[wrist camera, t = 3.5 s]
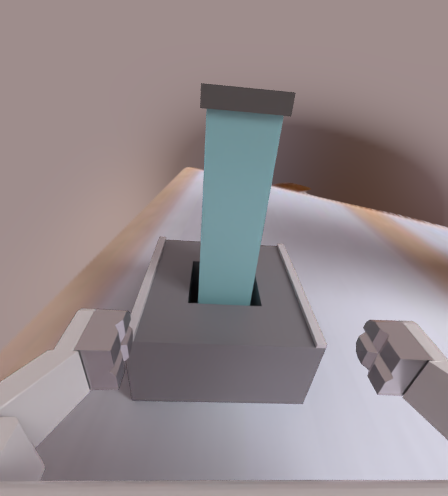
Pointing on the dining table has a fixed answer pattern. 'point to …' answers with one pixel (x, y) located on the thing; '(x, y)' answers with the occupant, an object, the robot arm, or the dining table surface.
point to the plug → (236, 186)
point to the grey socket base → (222, 334)
